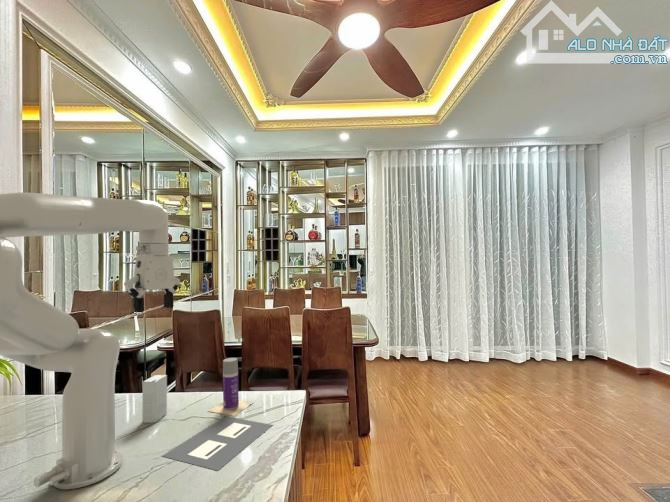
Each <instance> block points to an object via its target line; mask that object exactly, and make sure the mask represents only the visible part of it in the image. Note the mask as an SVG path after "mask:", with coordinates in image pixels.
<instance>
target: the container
mask: <svg viewBox="0 0 670 502" xmlns="http://www.w3.org/2000/svg"><path fill="white" fill-rule="evenodd" d="M238 363H239V362H238V358H237V357H228V358H227V357H226V358H225V359H223V360H222V396H223V397H222V399H223V402H222V403H223V408H224V409H225V410H233V409H236V408H237V407H238V406H239V399H240V398H239V367H238V366H239V365H238Z"/></svg>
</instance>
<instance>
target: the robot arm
mask: <svg viewBox="0 0 670 502" xmlns="http://www.w3.org/2000/svg"><path fill="white" fill-rule="evenodd" d="M115 232H138V245H136V247H135V250H136V251H138V255H137V256H136V259H135V265H134V275H133V277H130V279H128V280H126V281H125V282H124V283H123V285H124V287H125V290H127V293H128V294H129V295H130V297H131V298H133V303H132V304H133V312H134V313H144V312H145V298H144V297H143V295H144V294H145V293H146V292H147V291H155V290H156V291H157V290H162V291H163V292H164V293H165V294H163V308H165V309H166V308H167V309H168V308H170V309H171V308H174V295H175V294H176V291H177V289H178V288H179V284H180V282H181V279H180V278H179V277H177V276H175V269H174V264H173V263H174V262H173V258H172V255H171V254H169V212H168V211H167V210H166V209H164V208H163V206H162V205H161V204H159V203H158V202H156V201H153V200H140V199H127V198H125V199H124V198H123V199H122V198H108V197H107V198H106V197H105V198H104V197H90V196H88V197H87V196H77V195H76V196H75V195H73V196H72V195H63V194H62V195H61V194H51V193H50V194H49V193H42V192H41V193H37V192H36V193H35V192H23V191H22V192H9V193H2V194H1V193H0V356H1V357H5V358H7V359H10V360H13V361H16V362H18V363H21V364H24V365H26V366H29V367H32V368H35V369H39V370H41V371H42V370H43V371H45V372H46V371H47V372H59V373H60V372H62V373H63V372H64V373H71V374H70V377H69V379H68V381H67V383H66V385H65V387H64V389H63V393H62V399H61V403H62V404H61V409H62V412H61V415H62V416H61V418H62V421H61V422H62V423H61V424H62V425H61V426H62V427H61V439H62V440H61V441H62V442H61V446H62V447H61V452H62V453H61V458H59V459H57V460H56V461H55V462H56V465H55V466H53V467H52V468H51V470H48V471H46V472H44V473H42V474H40V475H38V476H35V477H34V478H33V485H34V487H35V488H39V487H42V486H43V485H45V484H46V483H49V485H50V486H53V487H55V488H56V489H59V490H74V489H80V488H84V487H86V486H87V487H88V486H91V485H93V484H96V483H98V482H101V481H102V480H104V479H106V478H107V477H109V476H111V475H113V474H114V473H115V472H116V471H117V470H118V469H120V467H121V466H122V465H123V461H124V456H123V454H122V453H121V452H119V451H116V448H115V447H116V445H115V444H116V441H115V440H116V439H115V438H116V436H115V435H116V434H115V433H116V432H115V431H116V426H115V425H116V419H115V418H116V416H115V415H116V412H115V411H116V405H115V400H116V398H115V395H116V394H115V393H116V391H115V389H116V388H115V387H116V385H115V382H116V371H117V370H116V369H117V366H118V359H119V355H120V350H121V346H120V345H121V343H120V341H119V338H118V337H117V336H116V334H114V333H112V332H111V331H109V330H106V329H101V328H80V326H79V324H78V322H77V320H76V319H75V318H74V317H73V316H72V315H71V314H69V313H67V312H66V311H64V310H63V309H60V308H58V307H56V306H54V304H51V303H49V302H47V301H45V300H43V299H41V298H40V297H38V296H37V295H35V294H33V293H31V292H30V291H29V290H28V289H27V288H26V286H25V285H24V282H23V275H22V274H23V257H22V254H21V251H20V249H19V247H18V246H17V245H16V244H15V243H14V242H13V241H12V240H10V239H8V238H20V237H21V238H22V237H46V236H48V237H50V236H52V237H53V236H75V235H76V236H77V235H79V236H80V235H98V234H99V235H100V234H107V233H115Z"/></svg>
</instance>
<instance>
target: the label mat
mask: <svg viewBox="0 0 670 502" xmlns="http://www.w3.org/2000/svg"><path fill="white" fill-rule="evenodd" d="M272 426H273V424H271V423H265V422H259V421H253V420H248V419H243V418H237V417H236V418H235V417H233V416H232V417H231V416H228V415H224V416H223V417H221V418H219V419H218V420H216V421H214V422H213V423H212V424H210V425H208V426H207V427H206V428H204V429H202V430H200V431H199V432H198V433H196V434H195V435H193V436H191V437H190V438H188V439H186V440H185V441H183V442H182V443H180V444H178V445H177V446H175V447H174V448H172V449H171V450H169V451H167V452H166V453H164V454H163V455H162V457H164V458H166V459H167V458H168V459H172V460H175V461H179V462H183V463H186V464H191V465H195V466H198V467H202V468H206V469H210V470H213V471H217V472H218V471H219V470H220V469H222V468H223V467H224V466H225V465H227V464H228V463H230V461H231V460H233V459H234V458H235V457H236V456H238V455H239V454H240V453H241V452H242V451H244V450H245V449H246V448H247V447H249V446H250V445H251V444H252V443H253V442H255V441H256V440H257V439H258V438H260V437H261V435H263V434H264V433H265V432H267V431H268V430H269V429H270V428H271V427H272Z"/></svg>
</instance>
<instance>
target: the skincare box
mask: <svg viewBox="0 0 670 502" xmlns="http://www.w3.org/2000/svg"><path fill="white" fill-rule="evenodd" d="M167 386H168V375H167V374H157V375H156V374H154V375H152V376H151V377H149V378H147V379H145V380H143V381H142V409H141V410H142V415H141V417H142V418H141V420H142V422H141V423H143V424H144V423H145V424H146V423H147V424H150V423H151V424H153V423H157V422H158V421H159V420H160V419H162V418H163V417H164V416H166V414H167V413H168V407H167V406H168V401H167V400H168V392H167V391H168V387H167Z"/></svg>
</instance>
